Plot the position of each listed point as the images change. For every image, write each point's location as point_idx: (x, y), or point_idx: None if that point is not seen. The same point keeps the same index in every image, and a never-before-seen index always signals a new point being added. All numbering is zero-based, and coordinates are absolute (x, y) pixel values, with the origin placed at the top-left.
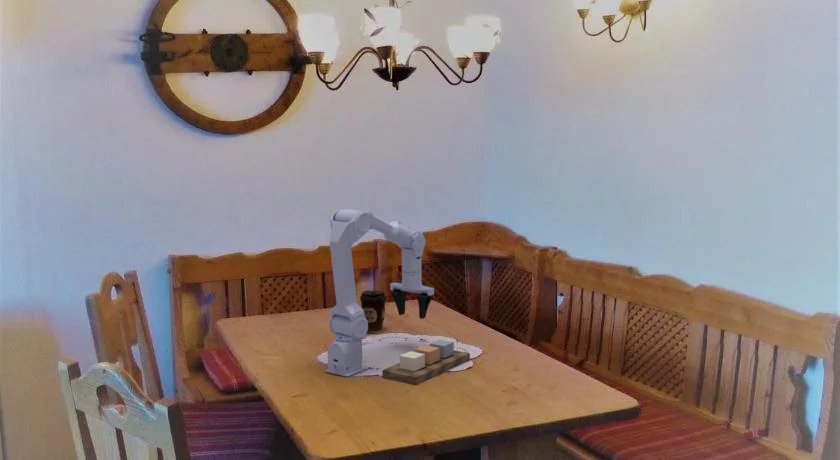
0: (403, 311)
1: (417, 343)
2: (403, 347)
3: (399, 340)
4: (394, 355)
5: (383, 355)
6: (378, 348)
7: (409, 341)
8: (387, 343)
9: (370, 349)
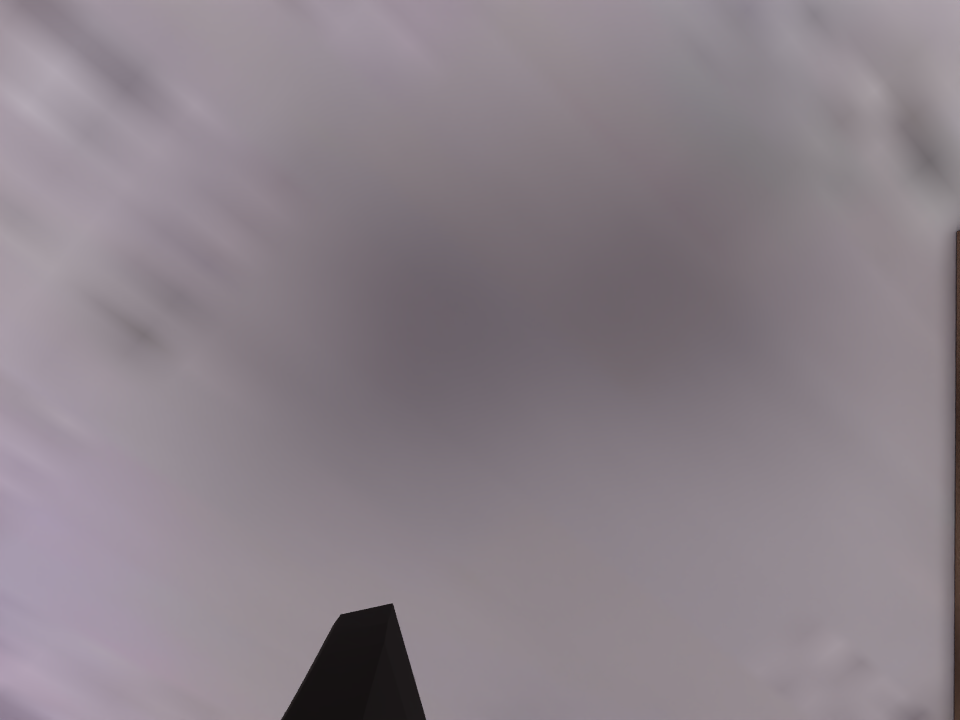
0: (402, 697)
1: (397, 78)
2: (414, 358)
3: (79, 167)
4: (589, 623)
5: (500, 699)
6: (235, 595)
7: (226, 91)
8: (110, 391)
9: (209, 676)
